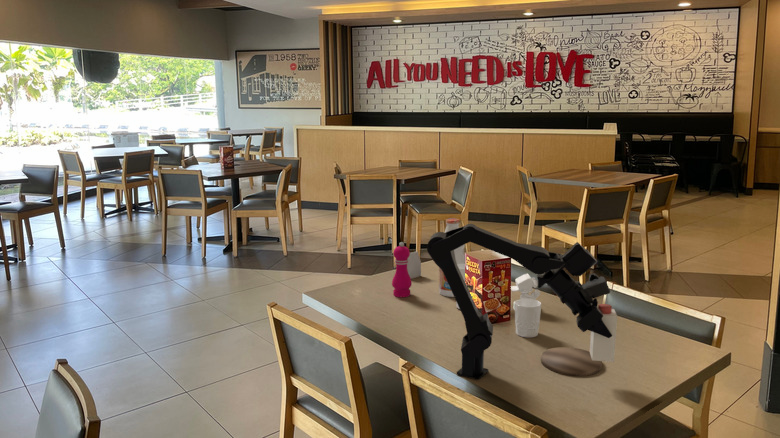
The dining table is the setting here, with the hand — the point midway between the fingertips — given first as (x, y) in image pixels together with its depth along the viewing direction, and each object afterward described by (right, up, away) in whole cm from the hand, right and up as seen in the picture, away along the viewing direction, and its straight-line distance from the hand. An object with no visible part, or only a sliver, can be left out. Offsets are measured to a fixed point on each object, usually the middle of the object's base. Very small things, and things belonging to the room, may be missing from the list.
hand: (609, 332), depth 156 cm
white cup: (-13, -7, +36) cm, 38 cm away
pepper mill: (-51, 0, +74) cm, 90 cm away
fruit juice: (-32, +1, +75) cm, 81 cm away
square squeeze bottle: (-1, -6, +2) cm, 7 cm away
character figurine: (-9, -3, +58) cm, 58 cm away
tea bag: (-46, +5, +97) cm, 107 cm away
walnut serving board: (-5, -11, +14) cm, 19 cm away
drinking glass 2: (-29, -2, +59) cm, 66 cm away
